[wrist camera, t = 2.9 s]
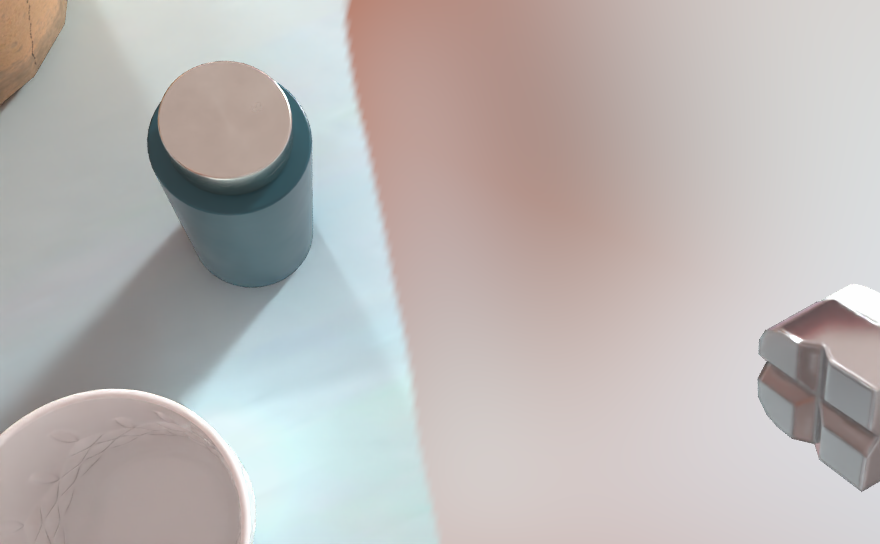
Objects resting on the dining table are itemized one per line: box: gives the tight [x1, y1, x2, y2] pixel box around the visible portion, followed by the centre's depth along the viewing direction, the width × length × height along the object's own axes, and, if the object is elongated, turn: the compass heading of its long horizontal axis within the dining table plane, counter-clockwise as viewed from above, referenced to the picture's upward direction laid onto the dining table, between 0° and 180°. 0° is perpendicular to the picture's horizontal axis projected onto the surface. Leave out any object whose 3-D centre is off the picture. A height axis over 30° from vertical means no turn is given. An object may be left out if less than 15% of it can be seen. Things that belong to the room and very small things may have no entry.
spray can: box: [147, 61, 313, 287], centre depth 28 cm, size 5×5×11 cm
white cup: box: [0, 389, 256, 544], centre depth 25 cm, size 8×8×10 cm
